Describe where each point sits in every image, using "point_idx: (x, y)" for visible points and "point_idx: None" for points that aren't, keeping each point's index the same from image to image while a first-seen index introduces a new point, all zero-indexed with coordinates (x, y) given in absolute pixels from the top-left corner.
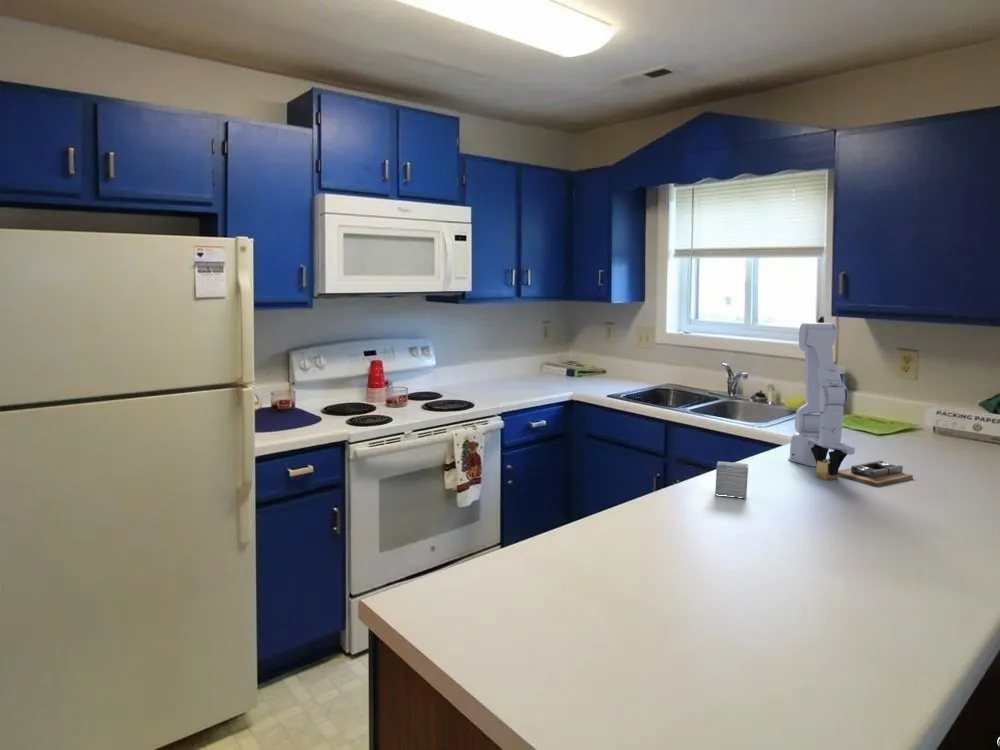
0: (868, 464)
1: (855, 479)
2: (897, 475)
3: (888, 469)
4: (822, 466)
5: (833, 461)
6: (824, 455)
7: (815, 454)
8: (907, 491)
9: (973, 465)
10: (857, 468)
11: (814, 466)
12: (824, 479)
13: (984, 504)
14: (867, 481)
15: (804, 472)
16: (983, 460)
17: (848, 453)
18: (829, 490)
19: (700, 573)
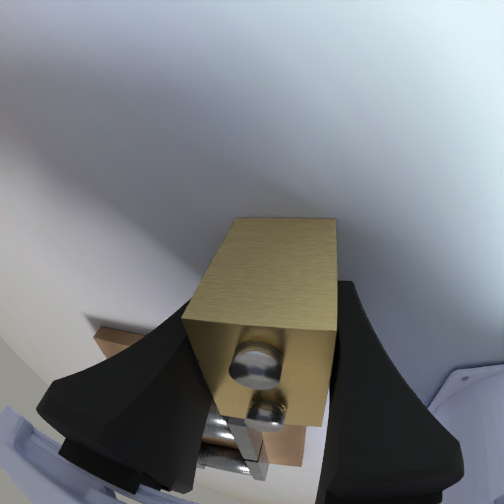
0: (244, 456)
1: None
2: None
3: None
4: (260, 288)
5: (131, 353)
6: (326, 439)
7: (380, 406)
8: (63, 341)
9: (227, 491)
10: (220, 419)
11: (449, 376)
12: (254, 220)
13: (18, 352)
14: (129, 342)
15: (456, 259)
16: (243, 500)
17: (9, 415)
18: (62, 59)
19: None
